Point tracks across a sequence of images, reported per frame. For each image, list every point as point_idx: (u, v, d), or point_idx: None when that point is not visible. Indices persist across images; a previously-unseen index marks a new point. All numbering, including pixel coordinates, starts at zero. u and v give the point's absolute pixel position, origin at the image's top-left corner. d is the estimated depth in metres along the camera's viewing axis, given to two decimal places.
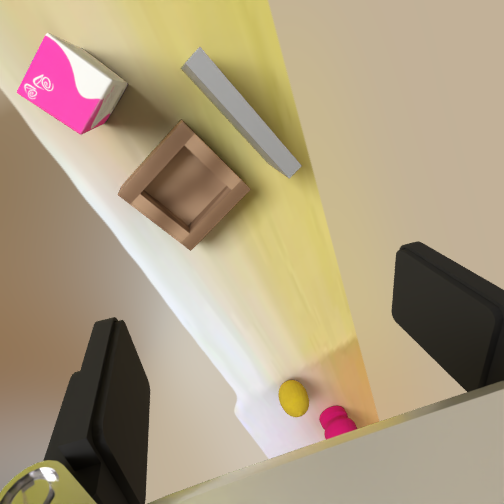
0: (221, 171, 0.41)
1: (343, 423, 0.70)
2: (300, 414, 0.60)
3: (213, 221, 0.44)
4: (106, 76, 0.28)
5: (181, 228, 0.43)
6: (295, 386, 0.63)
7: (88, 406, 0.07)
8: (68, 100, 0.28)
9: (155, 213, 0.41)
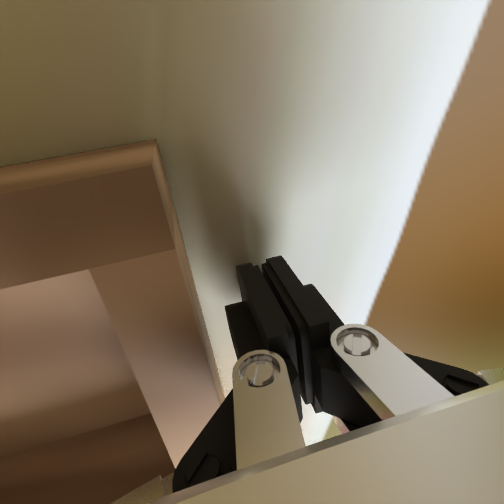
0: None
1: None
2: None
3: None
4: None
5: (117, 315, 0.07)
6: None
7: (273, 316, 0.08)
8: None
9: (182, 416, 0.09)
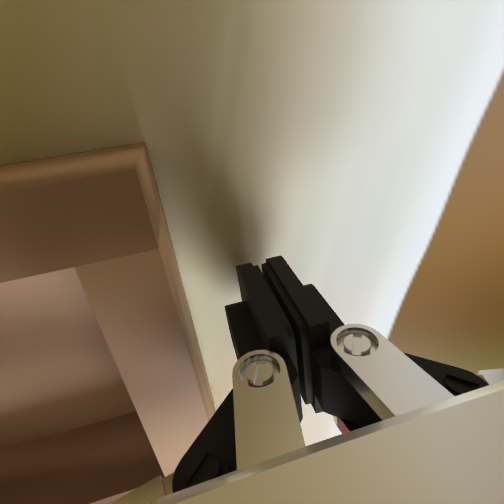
0: None
1: None
2: None
3: None
4: None
5: (101, 313, 0.08)
6: None
7: (273, 316, 0.08)
8: None
9: (166, 412, 0.09)
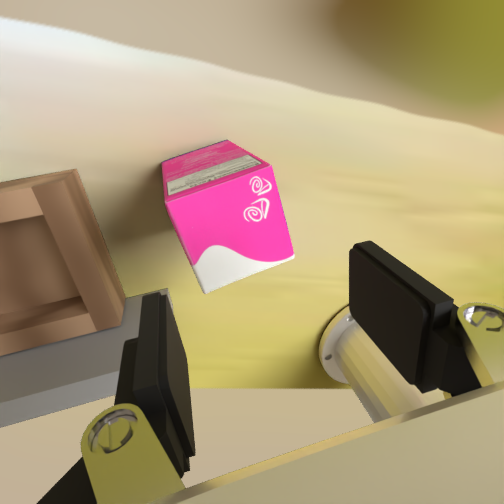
0: (17, 339, 0.24)
1: None
2: None
3: None
4: (213, 289, 0.18)
5: None
6: None
7: (152, 360, 0.08)
8: (218, 224, 0.17)
9: None
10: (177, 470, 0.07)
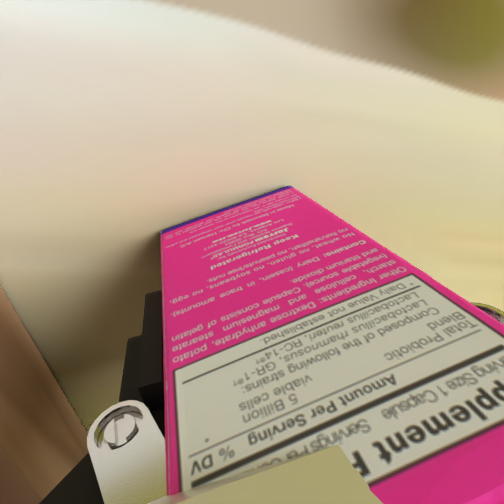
0: None
1: None
2: None
3: None
4: None
5: None
6: None
7: (156, 358, 0.08)
8: None
9: None
10: None
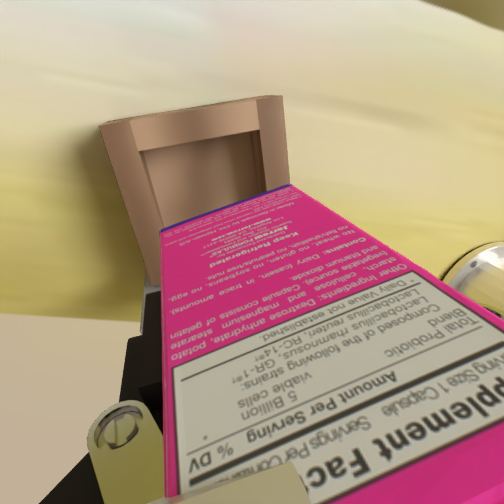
0: None
1: None
2: None
3: (134, 204, 0.22)
4: None
5: (158, 145, 0.21)
6: None
7: (157, 358, 0.08)
8: None
9: (214, 125, 0.21)
10: None
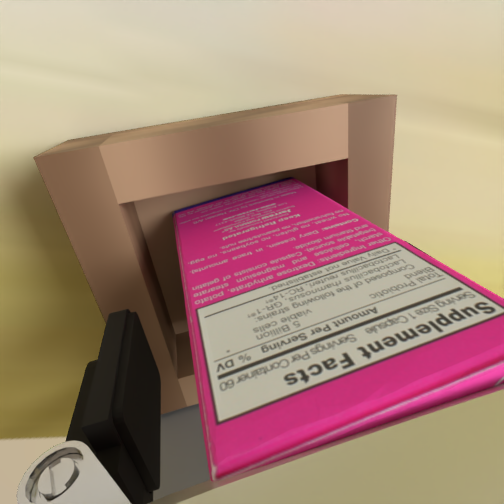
0: None
1: None
2: None
3: (113, 298, 0.12)
4: None
5: (157, 191, 0.11)
6: None
7: (108, 390, 0.07)
8: None
9: (266, 152, 0.11)
10: None
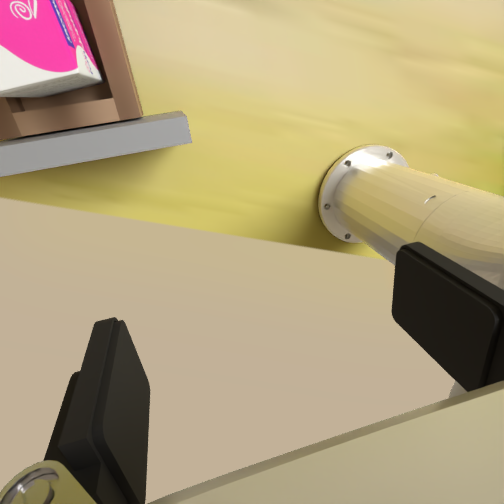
0: (50, 117, 0.27)
1: None
2: None
3: None
4: None
5: None
6: None
7: (88, 406, 0.07)
8: None
9: None
10: None
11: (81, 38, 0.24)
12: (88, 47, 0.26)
